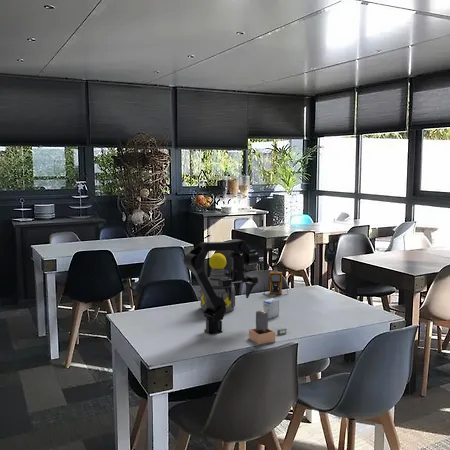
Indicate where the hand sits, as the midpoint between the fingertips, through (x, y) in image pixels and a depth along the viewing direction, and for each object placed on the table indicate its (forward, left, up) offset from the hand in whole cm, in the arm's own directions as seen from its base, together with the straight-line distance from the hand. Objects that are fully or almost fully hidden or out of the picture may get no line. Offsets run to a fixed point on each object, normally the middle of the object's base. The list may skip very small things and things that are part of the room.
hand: (238, 299), depth 231 cm
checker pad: (+11, -16, -13) cm, 23 cm away
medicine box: (+22, +6, -13) cm, 26 cm away
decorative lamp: (+5, +32, -13) cm, 35 cm away
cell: (-1, -23, -12) cm, 26 cm away
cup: (-1, -23, -13) cm, 26 cm away
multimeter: (+49, +44, -13) cm, 67 cm away
